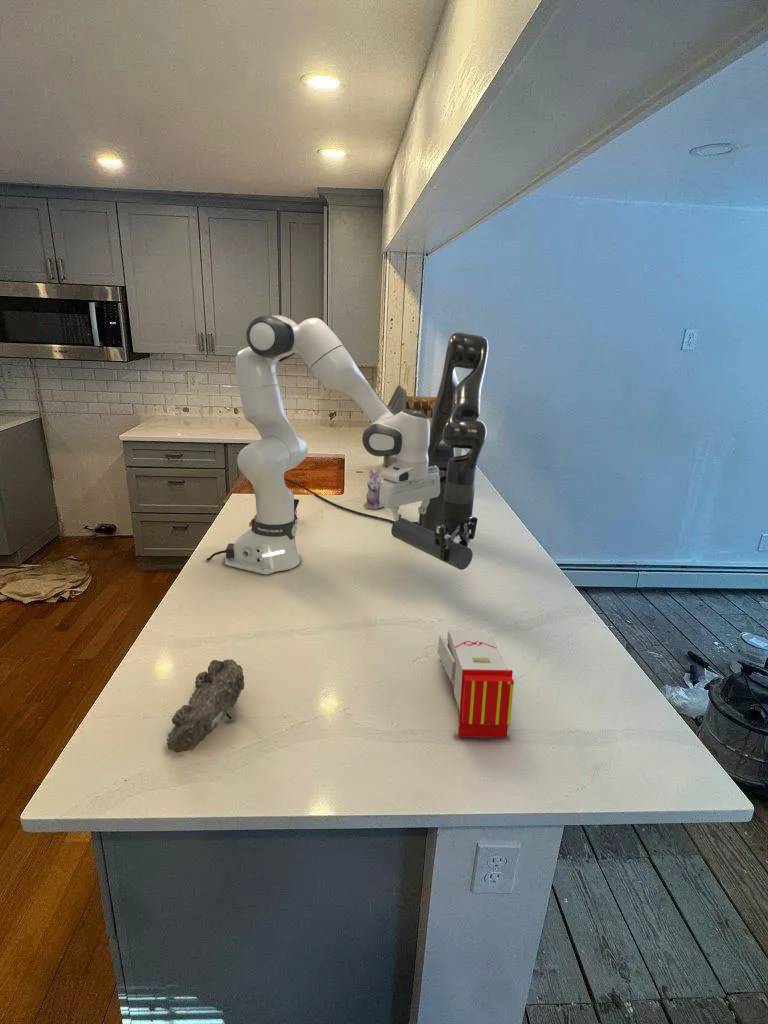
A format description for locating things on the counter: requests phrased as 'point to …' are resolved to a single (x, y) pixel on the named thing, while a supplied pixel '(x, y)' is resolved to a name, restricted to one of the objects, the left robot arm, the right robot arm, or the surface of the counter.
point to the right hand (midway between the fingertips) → (453, 557)
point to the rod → (430, 543)
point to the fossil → (206, 705)
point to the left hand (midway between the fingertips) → (409, 516)
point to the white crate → (415, 403)
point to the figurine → (373, 490)
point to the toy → (478, 682)
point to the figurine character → (295, 507)
